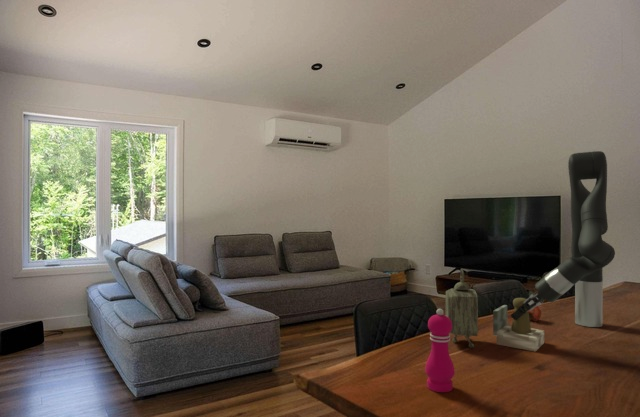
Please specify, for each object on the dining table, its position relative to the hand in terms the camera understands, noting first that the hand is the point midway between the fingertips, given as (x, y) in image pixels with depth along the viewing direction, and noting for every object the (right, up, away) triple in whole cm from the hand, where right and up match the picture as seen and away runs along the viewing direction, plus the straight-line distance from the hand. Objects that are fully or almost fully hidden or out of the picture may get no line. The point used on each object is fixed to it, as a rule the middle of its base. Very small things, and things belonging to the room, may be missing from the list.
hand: (515, 316), depth 152 cm
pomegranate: (+19, -9, +29) cm, 36 cm away
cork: (+1, -5, -1) cm, 5 cm away
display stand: (+1, -9, -1) cm, 9 cm away
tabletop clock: (-19, -9, 0) cm, 21 cm away
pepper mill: (-36, -9, -38) cm, 53 cm away
